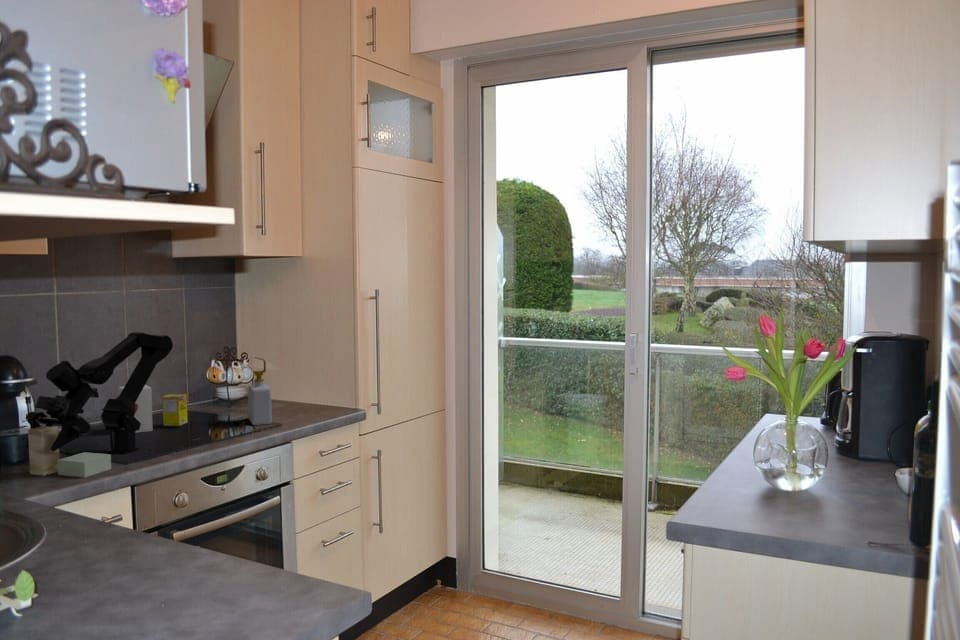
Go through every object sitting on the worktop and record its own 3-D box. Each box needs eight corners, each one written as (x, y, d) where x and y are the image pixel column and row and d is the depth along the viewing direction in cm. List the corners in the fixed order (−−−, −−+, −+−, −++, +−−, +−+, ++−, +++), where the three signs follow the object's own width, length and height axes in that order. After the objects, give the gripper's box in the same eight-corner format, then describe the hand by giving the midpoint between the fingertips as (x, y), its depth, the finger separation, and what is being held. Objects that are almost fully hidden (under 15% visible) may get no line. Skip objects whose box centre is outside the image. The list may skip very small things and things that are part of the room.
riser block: (111, 468, 207) (110, 454, 206) (84, 477, 198) (84, 462, 198) (85, 466, 209) (84, 452, 209) (58, 474, 201) (57, 460, 201)
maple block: (46, 469, 207) (45, 425, 206) (60, 471, 205) (58, 427, 204) (30, 473, 202) (28, 429, 201) (43, 475, 200) (41, 430, 199)
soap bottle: (248, 419, 275) (246, 355, 274) (267, 418, 278) (265, 354, 276) (252, 425, 264) (251, 359, 262) (272, 424, 267) (270, 358, 265)
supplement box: (188, 424, 267) (187, 393, 266) (179, 428, 261) (178, 396, 260) (171, 424, 267) (171, 393, 266) (163, 427, 261) (162, 396, 260)
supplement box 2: (124, 434, 250) (122, 389, 249) (118, 430, 258) (117, 386, 257) (153, 431, 256) (151, 387, 255) (147, 426, 263) (145, 384, 262)
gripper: (30, 382, 209) (-7, 429, 199) (79, 386, 202) (44, 435, 193) (56, 405, 217) (22, 452, 207) (105, 410, 210) (72, 458, 200)
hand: (39, 449), depth 202 cm, fingers open, 9 cm apart
